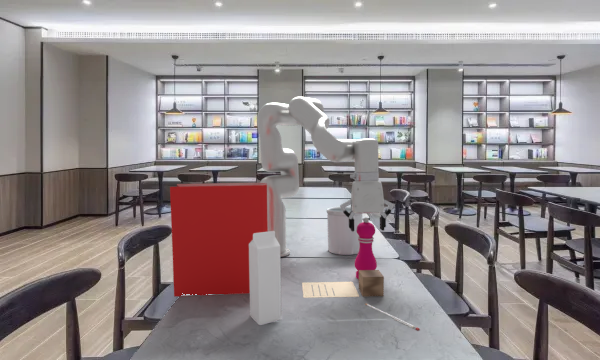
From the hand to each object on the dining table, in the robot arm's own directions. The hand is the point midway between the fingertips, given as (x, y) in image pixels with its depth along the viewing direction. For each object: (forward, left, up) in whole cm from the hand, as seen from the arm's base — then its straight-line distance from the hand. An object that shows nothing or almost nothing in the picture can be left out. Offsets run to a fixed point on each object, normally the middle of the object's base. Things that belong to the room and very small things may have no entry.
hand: (367, 230), depth 122 cm
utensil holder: (-2, +33, -16) cm, 37 cm away
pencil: (0, -28, -17) cm, 32 cm away
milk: (-31, -28, -16) cm, 45 cm away
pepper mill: (0, 0, -16) cm, 16 cm away
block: (-1, -13, -16) cm, 20 cm away
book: (-45, -8, -16) cm, 49 cm away
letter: (-13, -10, -16) cm, 23 cm away
